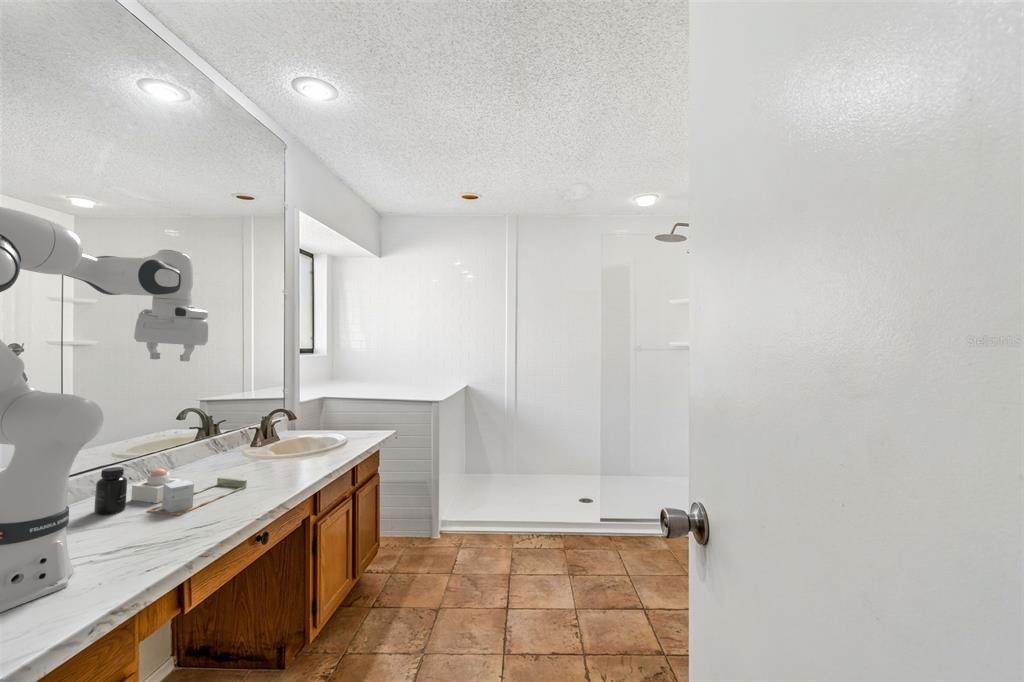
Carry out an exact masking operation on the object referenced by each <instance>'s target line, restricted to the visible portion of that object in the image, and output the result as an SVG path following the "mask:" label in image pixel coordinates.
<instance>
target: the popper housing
mask: <svg viewBox="0 0 1024 682" xmlns="http://www.w3.org/2000/svg"><path fill="white" fill-rule="evenodd" d="M183 480H184V479H180V478H171V477H170V481H169V483H171V482H176V481H183ZM163 486H164V485H161V486H158V487H157V486H148V485H147V480H145V481H142V482H139V483H136V484H133V485H132V486H131V497H130V498H131V499H130V500H131V501H136V502H144V503H151V502H153V504H159V503H161V501H163Z"/></svg>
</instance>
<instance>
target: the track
mask: <svg viewBox="0 0 1024 682" xmlns="http://www.w3.org/2000/svg"><path fill="white" fill-rule="evenodd" d="M247 481H248V480H247V479H239V478H229V477H221V476H220V477H217V481H216V484H213V485H211V486H208V487H206V488H203V489H200V490H197V491H195V492H194V493H193V496H195V495H197V494H199V493H202V492H205V491H207V490H210V489H213V488H215V487H217V486H222V487H223V486H224V487H231V488H237V489H234V490H232V491H229V492H227V493H224V494H222V495H220V496H217V497H214V498H212V499H211V500H208V501H205V502H203V503H200V504H198V505H195V506H193V507H192V508H190V509H186V510H182V511H181V512H167V511H165V510H164V511H162V510H158V509H160V507H161V508H162V504H160V505H158V506H155V507H153V508H149V509H147V510H146V513H153V512H154V514H160V515H161V514H162V515H170V516H176V517H177V516H178V517H179V516H181V515H184V514H187V513H189V512H191V511H193V510H195V509H197V508H201V507H203V506H205V505H209V504H210V503H213V502H214V501H217V500H219V499H221V498H224V497H227V496H229V495H231V494H234V493H236V492H238V491H241V490H243V489H245V488H247V485H248V484H247Z"/></svg>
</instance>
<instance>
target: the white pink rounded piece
mask: <svg viewBox="0 0 1024 682" xmlns="http://www.w3.org/2000/svg"><path fill="white" fill-rule="evenodd" d="M170 478H171V472H168V471H167V470H166V469H164V468H155V469H154V470H153V471H152V472H151V473H149V474H147V479H146V481H147V485H148V486H157V487H158V486H161V485H164V484H165V483H169V481H170Z"/></svg>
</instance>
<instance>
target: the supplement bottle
mask: <svg viewBox="0 0 1024 682" xmlns="http://www.w3.org/2000/svg"><path fill="white" fill-rule="evenodd" d="M124 473H125V469H124V467H119V466H116V467H107V468H103V469H102V470H101V475H100V479H99V480H97V482H96V484H95V494H94V508H93V509H94V514H96V515H111V514H112V513H113V514H116V512H117V513H121V512H122V511H124V510H125V509H126V506H127V493H128V479H127V477H125V476H124Z"/></svg>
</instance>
